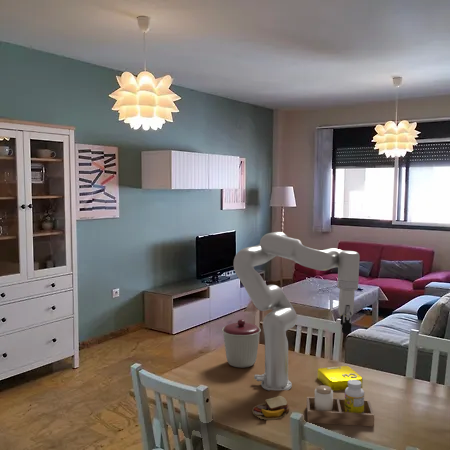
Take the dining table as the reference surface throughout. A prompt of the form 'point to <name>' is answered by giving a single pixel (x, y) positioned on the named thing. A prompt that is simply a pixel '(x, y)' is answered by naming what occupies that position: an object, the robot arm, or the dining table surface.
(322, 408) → the jar
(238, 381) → the dining table surface
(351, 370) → the element tile
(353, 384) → the supplement bottle
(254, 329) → the canister
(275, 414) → the toy sandwich meal
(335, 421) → the crate
